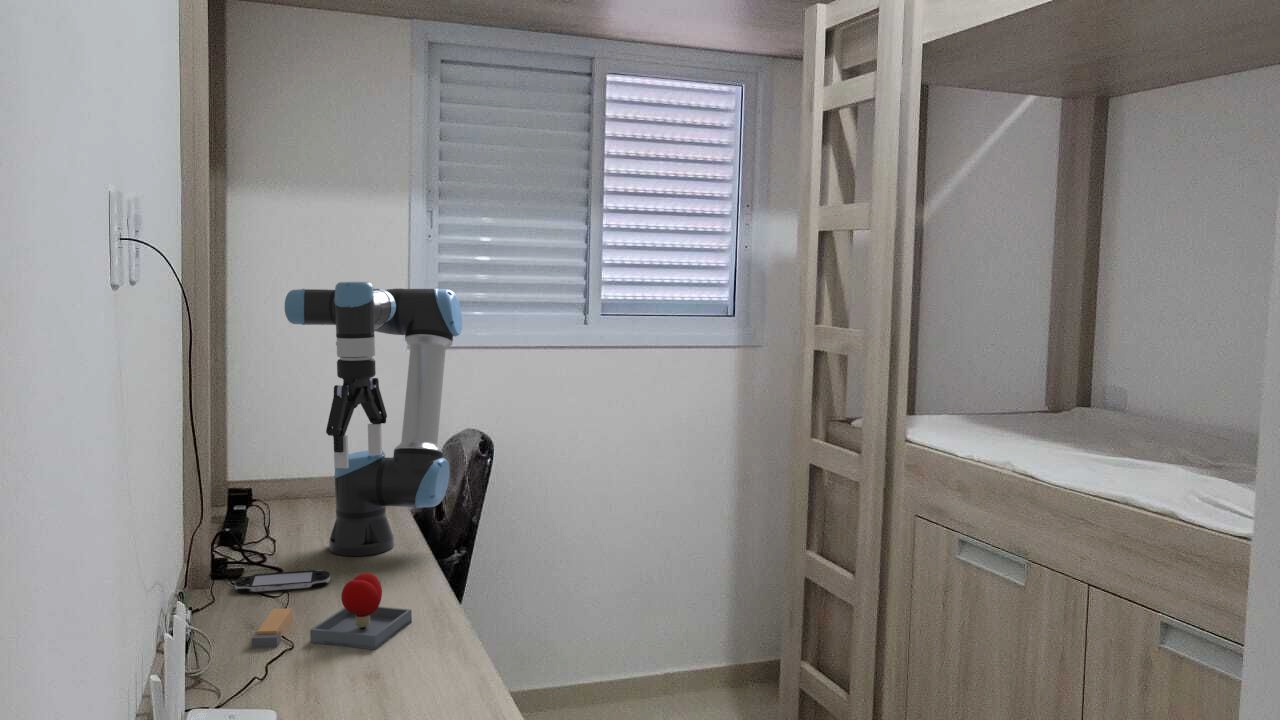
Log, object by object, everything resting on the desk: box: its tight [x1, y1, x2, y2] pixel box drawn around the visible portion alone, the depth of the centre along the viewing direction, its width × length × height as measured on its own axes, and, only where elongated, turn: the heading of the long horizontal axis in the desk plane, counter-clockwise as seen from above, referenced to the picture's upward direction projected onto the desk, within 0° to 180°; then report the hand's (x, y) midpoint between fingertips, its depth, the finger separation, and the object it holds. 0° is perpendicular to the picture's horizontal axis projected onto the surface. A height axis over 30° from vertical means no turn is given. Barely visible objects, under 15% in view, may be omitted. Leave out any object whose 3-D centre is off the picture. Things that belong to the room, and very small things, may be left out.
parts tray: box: [309, 606, 413, 650], centre depth 195 cm, size 14×13×2 cm
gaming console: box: [234, 569, 331, 595], centre depth 222 cm, size 19×9×2 cm, turn 104°
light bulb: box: [340, 572, 383, 629], centre depth 195 cm, size 9×7×10 cm
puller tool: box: [251, 607, 293, 649], centre depth 194 cm, size 14×4×2 cm, turn 6°
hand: (358, 461), depth 212 cm, fingers open, 13 cm apart
